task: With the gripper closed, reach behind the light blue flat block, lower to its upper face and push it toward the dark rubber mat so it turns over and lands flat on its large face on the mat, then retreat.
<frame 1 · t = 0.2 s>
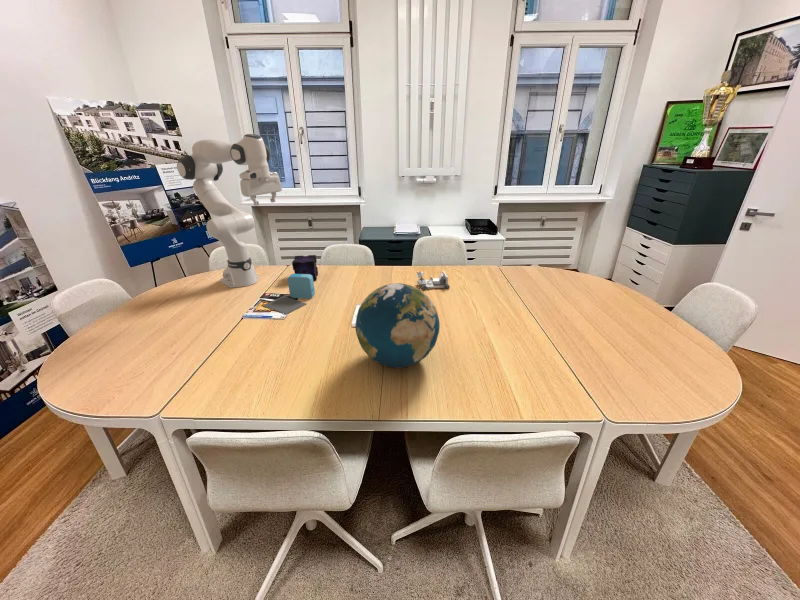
hand: (265, 203, 166), 47 cm above the table, fingers open, 8 cm apart
globe: (398, 360, 131), on the table
toy car: (431, 286, 194), on the table
mat: (284, 305, 174), on the table
light blue flat block: (303, 296, 183), on the table
energy cube: (306, 278, 207), on the table
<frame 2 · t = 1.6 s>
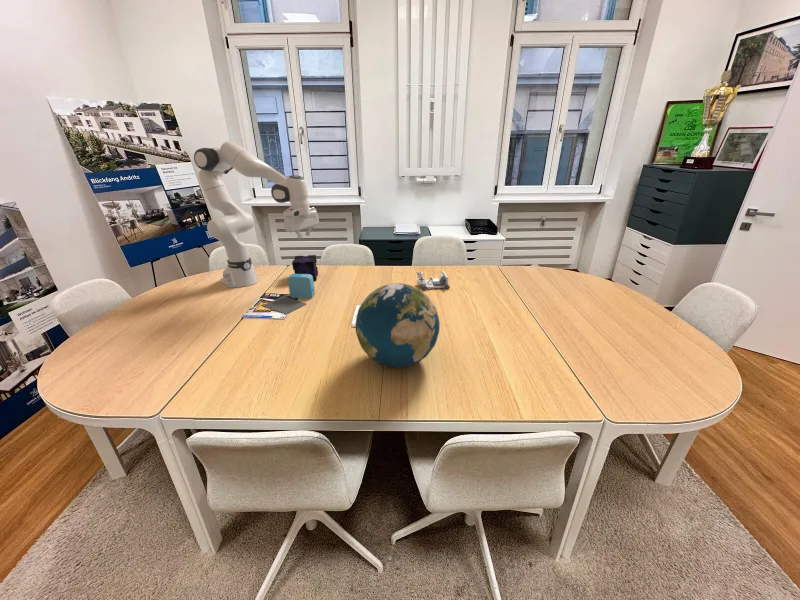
hand: (304, 236, 180), 29 cm above the table, fingers open, 4 cm apart
nothing on the table moved.
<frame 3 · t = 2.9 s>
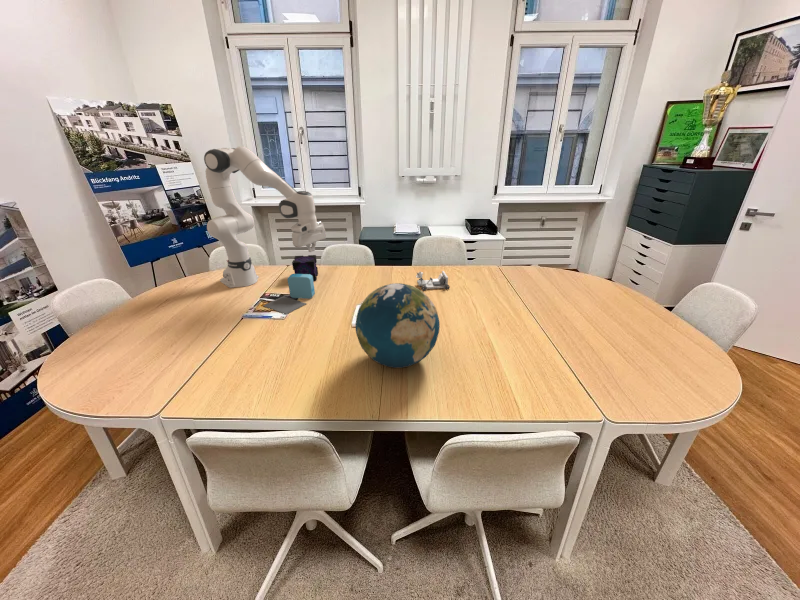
hand: (311, 251, 181), 22 cm above the table, fingers closed
nothing on the table moved.
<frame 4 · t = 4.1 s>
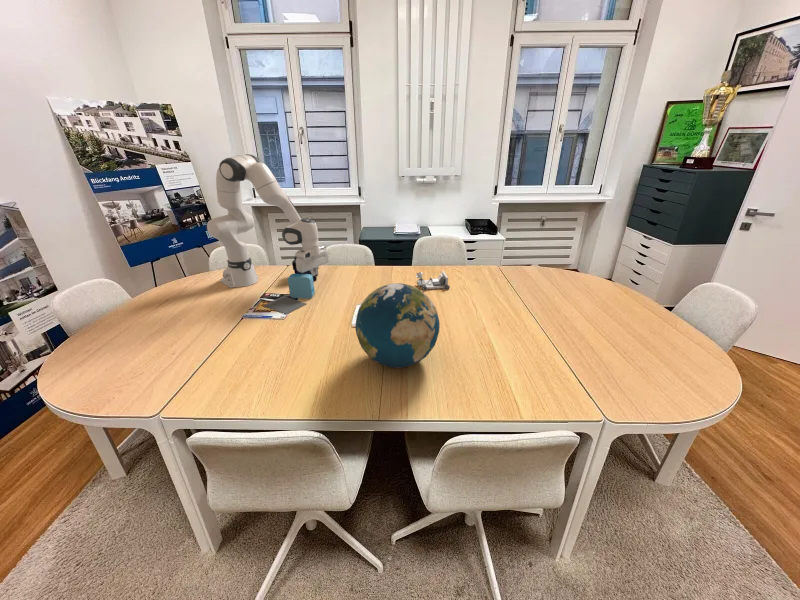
hand: (314, 275, 187), 9 cm above the table, fingers closed
nothing on the table moved.
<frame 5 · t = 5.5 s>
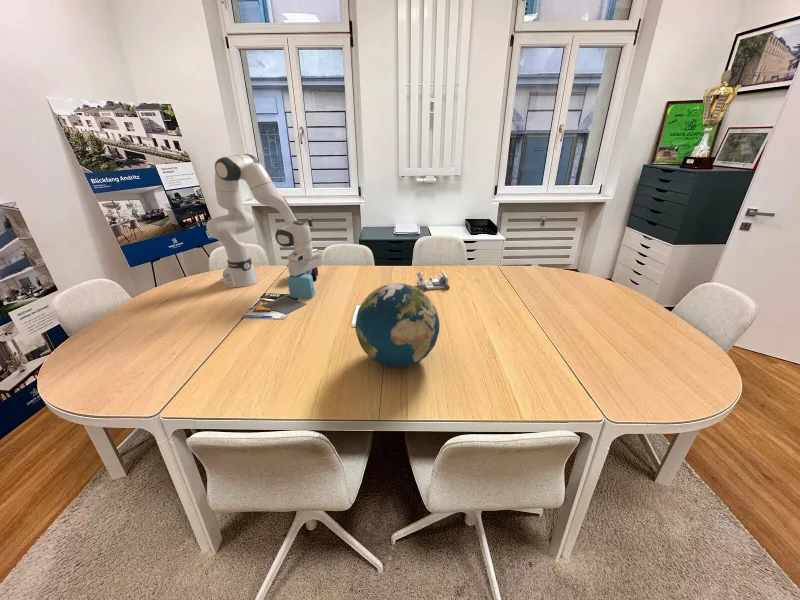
hand: (307, 278, 183), 9 cm above the table, fingers closed
nothing on the table moved.
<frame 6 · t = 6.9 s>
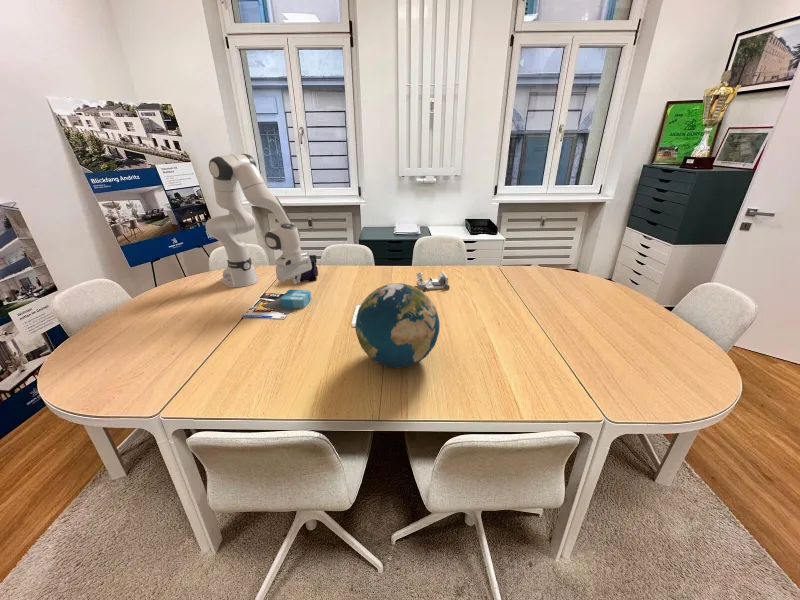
hand: (296, 283, 177), 9 cm above the table, fingers closed
light blue flat block: (300, 293, 180), point 3 cm above the table, touching mat
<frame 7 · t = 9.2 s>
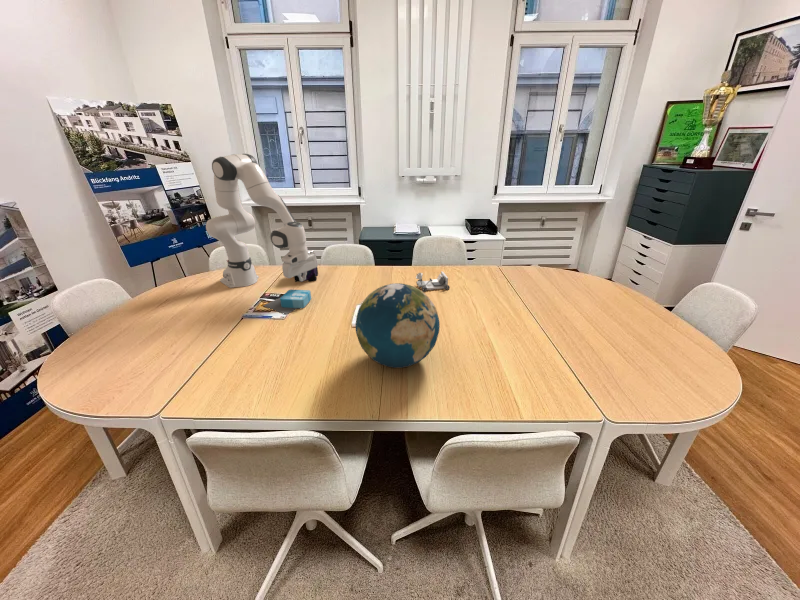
hand: (302, 280, 180), 9 cm above the table, fingers closed
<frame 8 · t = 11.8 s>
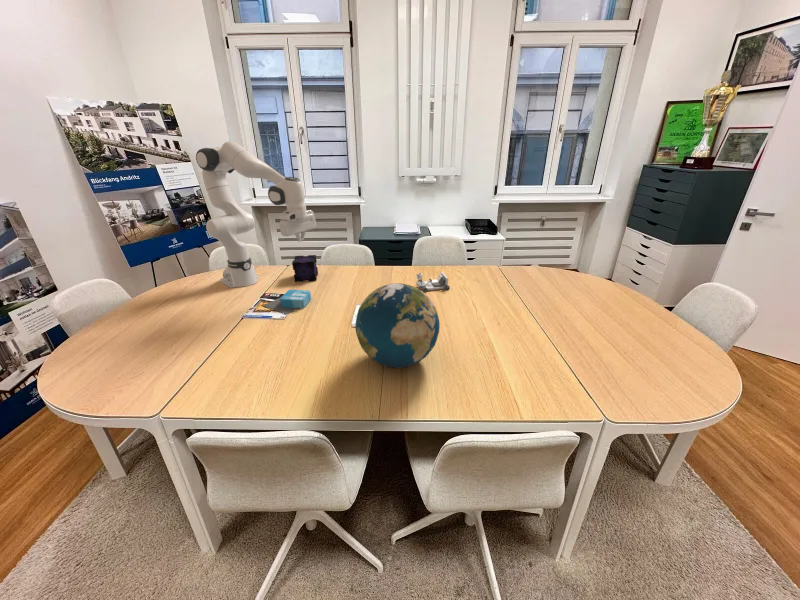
hand: (301, 240, 173), 29 cm above the table, fingers closed
at the end: light blue flat block tilted 90°; light blue flat block 10.2 cm from the mat (horizontally); the gripper is holding nothing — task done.
